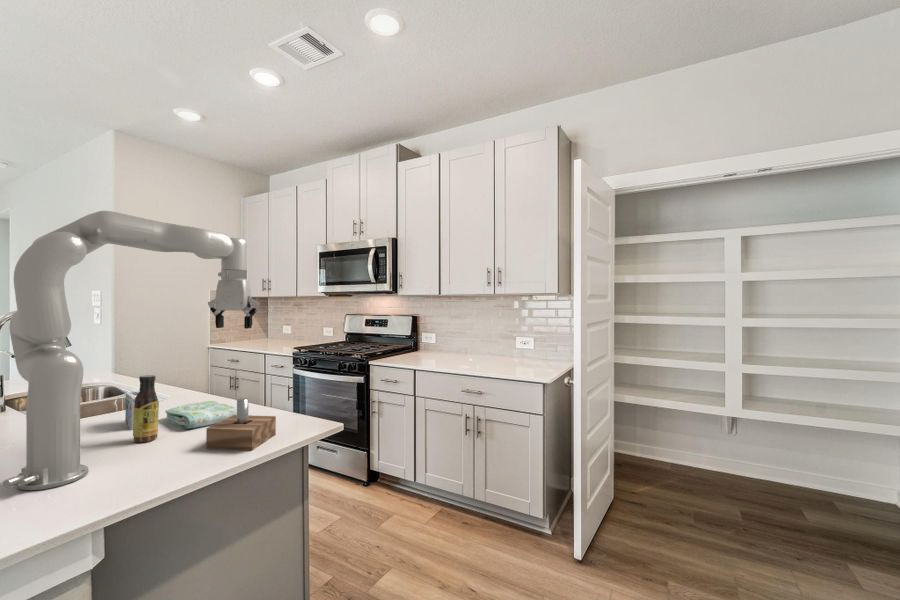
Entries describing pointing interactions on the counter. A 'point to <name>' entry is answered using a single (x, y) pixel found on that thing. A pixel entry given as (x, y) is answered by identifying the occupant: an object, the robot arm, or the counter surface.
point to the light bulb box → (130, 408)
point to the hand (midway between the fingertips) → (233, 328)
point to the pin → (242, 411)
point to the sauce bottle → (146, 411)
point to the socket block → (240, 433)
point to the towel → (200, 414)
